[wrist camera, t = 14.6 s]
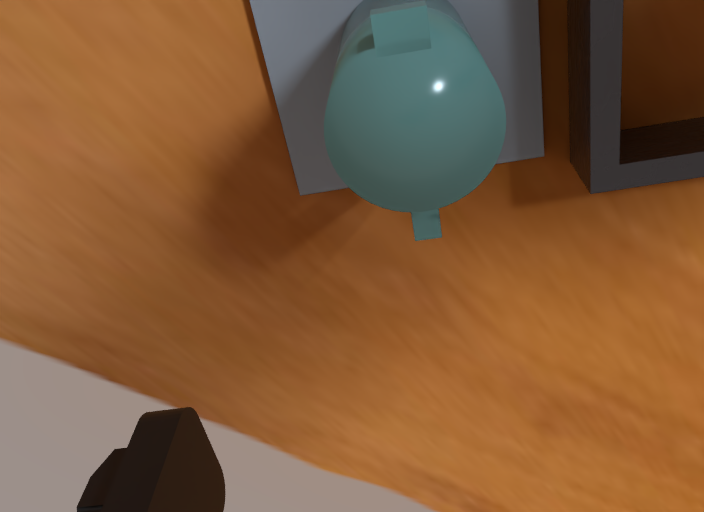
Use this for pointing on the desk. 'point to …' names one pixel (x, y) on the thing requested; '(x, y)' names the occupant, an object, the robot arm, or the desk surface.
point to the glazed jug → (412, 109)
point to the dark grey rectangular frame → (618, 112)
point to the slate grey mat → (320, 59)
